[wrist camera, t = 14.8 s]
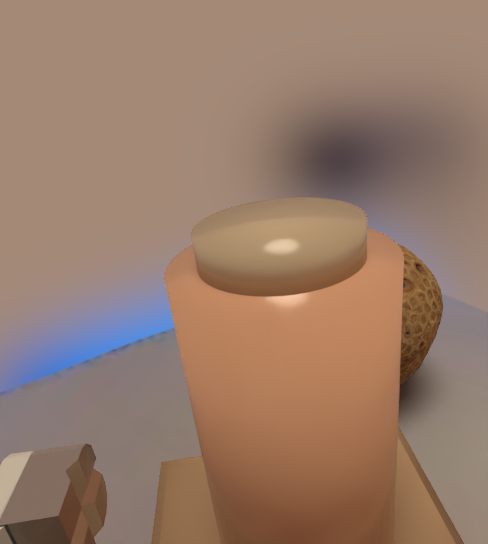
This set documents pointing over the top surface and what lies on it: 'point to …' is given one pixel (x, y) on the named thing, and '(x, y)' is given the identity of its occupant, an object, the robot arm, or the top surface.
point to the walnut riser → (202, 524)
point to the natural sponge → (418, 313)
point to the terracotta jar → (293, 369)
